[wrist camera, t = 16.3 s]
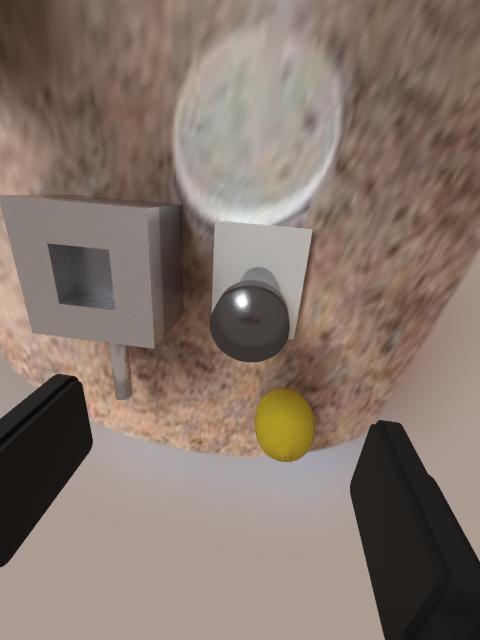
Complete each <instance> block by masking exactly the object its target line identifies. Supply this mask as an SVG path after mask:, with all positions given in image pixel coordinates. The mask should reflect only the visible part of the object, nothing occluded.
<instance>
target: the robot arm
mask: <svg viewBox="0 0 480 640" xmlns="http://www.w3.org/2000/svg"><path fill="white" fill-rule="evenodd" d="M92 444H93V439H92V433H91V428H90V424H89V418H88V412H87V407H86V402H85V396H84V391H83V386H82V383H81V382H79V381H78V378H77V377H75V376H69V375H62V374H56V375H54V376H53V377H52V378H50V379H49V380H48V381H47V382H45V383H44V384H43V385H42V386H40V387H39V388H38V389H37V390H36V391H34V392H33V393H32V394H31V395H29V396H28V397H27V398H26V399H24V400H23V401H22V402H21V403H20V404H18V405H17V406H16V407H14V408H13V409H12V410H11V411H9V412H8V413H7V414H6V415H5V416H3V417H2V418H1V419H0V567H3V566H4V565H6V564H7V563H8V562H9V560H10V559H11V558H12V557H13V555H14V554H15V553H16V551H17V550H18V548H19V547H20V546H21V544H22V543H23V542H24V540H25V539H26V538H27V536H28V535H29V533H30V532H31V531H32V529H33V528H34V527H35V525H36V524H37V523H38V521H39V520H40V519H41V517H42V516H43V514H44V513H45V512H46V510H47V509H48V508H49V506H50V505H51V503H52V502H53V501H54V499H55V498H56V497H57V495H58V494H59V493H60V491H61V490H62V489H63V487H64V486H65V484H66V483H67V482H68V480H69V479H70V478H71V476H72V475H73V474H74V472H75V471H76V470H77V468H78V467H79V465H80V464H81V463H82V461H83V460H84V459H85V457H86V456H87V454H88V453H89V452H90V450H91V448H92ZM350 494H351V499H352V503H353V507H354V511H355V516H356V520H357V524H358V528H359V532H360V537H361V541H362V545H363V549H364V554H365V557H366V562H367V566H368V571H369V575H370V579H371V583H372V587H373V592H374V595H375V600H376V604H377V609H378V613H379V617H380V621H381V625H382V629H383V633H384V637H385V640H480V561H479V560H478V558H477V556H476V554H475V552H474V550H473V549H472V547H471V545H470V543H469V541H468V539H467V537H466V536H465V534H464V532H463V530H462V528H461V527H460V525H459V523H458V521H457V519H456V517H455V515H454V514H453V512H452V510H451V508H450V506H449V504H448V503H447V501H446V499H445V498H444V495H443V493H442V492H441V490H440V488H439V486H438V484H437V483H436V481H435V480H434V478H432V477H431V476H430V475H428V473H427V471H426V469H425V467H424V466H423V464H422V462H421V460H420V458H419V456H418V454H417V452H416V451H415V449H414V447H413V445H412V443H411V441H410V439H409V437H408V436H407V434H406V432H405V430H404V428H403V426H402V425H401V424H400V423H397V422H390V421H383V420H379V421H378V422H377V423H376V424H372V425H371V426H370V428H369V431H368V434H367V437H366V440H365V443H364V446H363V449H362V452H361V454H360V457H359V460H358V463H357V466H356V469H355V472H354V474H353V477H352V480H351V484H350Z"/></svg>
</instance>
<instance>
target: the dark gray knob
mask: <svg viewBox="0 0 480 640" xmlns="http://www.w3.org/2000/svg"><path fill="white" fill-rule="evenodd" d="M210 330H211V334H212V337H213V339H214V341H215V343H216V344H217V346H218V347H219V348H220V349H221V350H222V351H223V352H224V353H225V354H227V355H228V356H230V357H232V358H234V359H236V360H239V361H244V362H260V361H264V360H267V359H269V358H271V357H273V356H274V355H276V354H277V353H278V352H279V351H280V350H281V349H282V348H283V347H284V345H285V344H286V342H287V339H288V337H289V332H290V322H289V312H288V306H287V303H286V301H285V299H284V297H283V296H282V294H281V293H280V292H279V291H278V290H277V289H276V279H275V277H274V275H273V274H272V273H271V272H270V271H269V270H267V269H265V268H262V267H254V268H251V269H249V270H248V271H246V272H245V273H244V275H243V276H242V278H241V281H240V282H238V283H235V284H234V285H232V286H230V287H229V288H228V289H227V290H225V292H224V293H223V294H222V295H221V297H220V299H219V301H218V302H217V304H216V306H215V308H214V310H213V312H212V315H211V319H210Z"/></svg>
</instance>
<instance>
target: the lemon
mask: <svg viewBox="0 0 480 640" xmlns="http://www.w3.org/2000/svg"><path fill="white" fill-rule="evenodd" d="M255 431H256V436H257V440H258V442H259V444H260V446H261V448H262V449H263V450H264V452H265V453H266V454H267V455H269V456H270V457H271V458H273V459H275V460H277V461H281V462H292V461H295V460H298V459H299V458H301V457H303V456H304V455H305V454H306V453H307V452H308V450H309V449H310V447H311V445H312V442H313V438H314V431H315V422H314V416H313V412H312V409H311V407H310V405H309V404H308V402H307V400H306V399H305V398H304V397H303V396H302V395H301V394H299V393H298V392H296V391H294V390H291V389H286V388H281V389H276V390H273V391H271V392H269V393H267V394H266V395H265V396H264V397H263V398H262V400H261V401H260V403H259V405H258V407H257V410H256V415H255Z"/></svg>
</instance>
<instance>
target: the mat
mask: <svg viewBox="0 0 480 640" xmlns="http://www.w3.org/2000/svg"><path fill="white" fill-rule="evenodd" d="M312 231H313V230H312V229H305V228H294V227H282V226H271V225H260V224H249V223H238V222H227V221H215V233H214V260H213V288H212V312H213V310H214V308H215V306H216V304H217V302H218V301H219V299H220V297H221V295H222V294H223V293H224V292H225V290H227V289H228V288H229V287H230V286H232V285H234V284H235V283H238V282H240V281H241V278H242V276H243V275H244V273H245V272H246V271H248V270H249V269H251V268H254V267H262V268H265V269H267V270H269V271H270V272H271V273H272V274H273V275H274V277H275V279H276V289H277V290H278V291H279V292H280V293H281V294H282V296H283V297H284V299H285V301H286V303H287V306H288V312H289V322H290V332H289V337H288V339H292V340H294V336H295V330H296V324H297V319H298V313H299V307H300V301H301V295H302V289H303V283H304V278H305V272H306V266H307V260H308V254H309V248H310V242H311V237H312Z"/></svg>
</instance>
